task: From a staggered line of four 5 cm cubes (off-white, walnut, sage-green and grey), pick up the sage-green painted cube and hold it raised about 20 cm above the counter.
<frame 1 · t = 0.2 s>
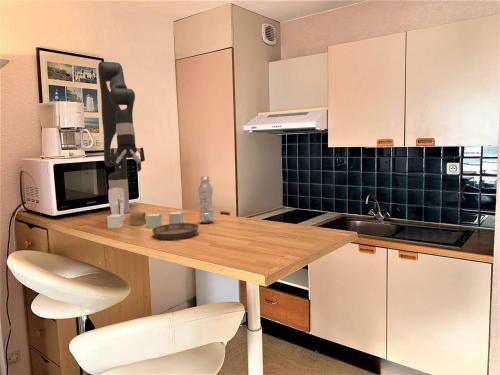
hand: (128, 172, 170), 23 cm above the worktop, tool pointing down, fingers open, 8 cm apart
grey block: (176, 224, 172), on the worktop
plant saucer: (175, 236, 152), on the worktop
walnut block: (138, 224, 173), on the worktop
plastic bottle: (206, 223, 173), on the worktop
beer glass: (118, 221, 183), on the worktop
green block: (154, 226, 169), on the worktop
white block: (116, 227, 170), on the worktop
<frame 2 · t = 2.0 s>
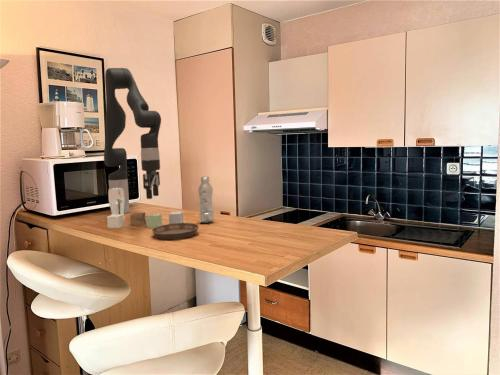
hand: (152, 197, 167), 13 cm above the worktop, tool pointing down, fingers open, 8 cm apart
nothing on the worktop moved.
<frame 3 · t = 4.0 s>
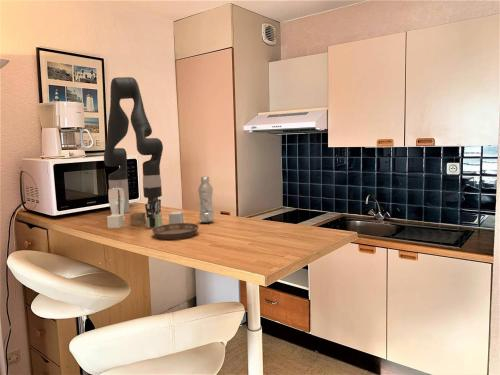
hand: (154, 225, 169), 0 cm above the worktop, tool pointing down, fingers closed on green block, 5 cm apart
green block: (154, 226, 169), on the worktop, touching gripper
everything else where it was.
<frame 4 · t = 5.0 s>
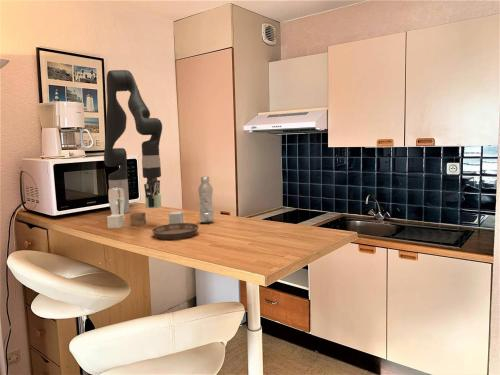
hand: (153, 205, 168), 9 cm above the worktop, tool pointing down, fingers closed on green block, 5 cm apart
green block: (153, 207, 168), point 8 cm above the worktop, touching gripper
everything else where it was.
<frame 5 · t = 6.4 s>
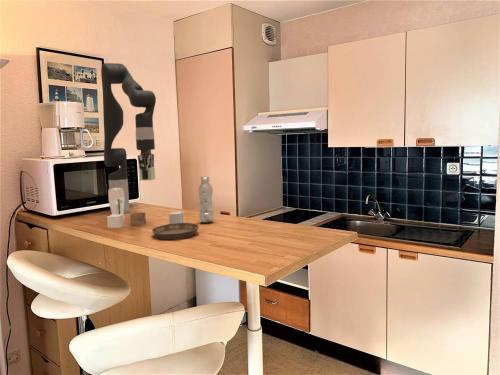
hand: (147, 178, 168), 20 cm above the worktop, tool pointing down, fingers closed on green block, 5 cm apart
green block: (147, 179, 169), point 20 cm above the worktop, touching gripper
everything else where it was.
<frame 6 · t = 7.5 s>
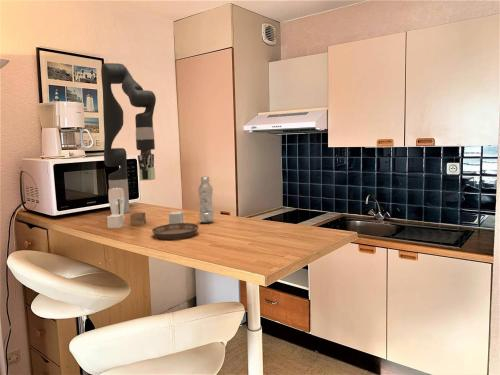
hand: (147, 178, 168), 20 cm above the worktop, tool pointing down, fingers closed on green block, 5 cm apart
green block: (147, 179, 169), point 20 cm above the worktop, touching gripper
everything else where it was.
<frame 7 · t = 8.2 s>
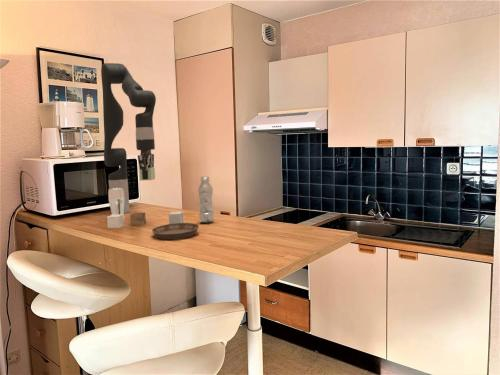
hand: (147, 178, 168), 20 cm above the worktop, tool pointing down, fingers closed on green block, 5 cm apart
green block: (147, 179, 169), point 20 cm above the worktop, touching gripper
everything else where it was.
at the end: the gripper is holding green block; green block point 19.8 cm above the worktop; walnut block moved 0.1 cm from its start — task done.
